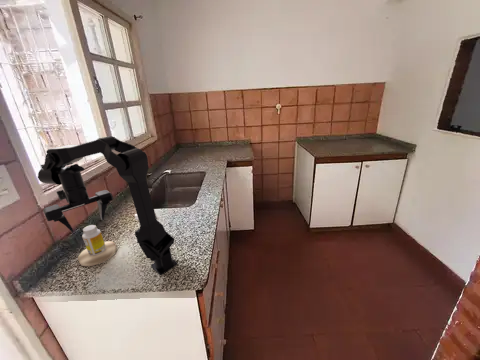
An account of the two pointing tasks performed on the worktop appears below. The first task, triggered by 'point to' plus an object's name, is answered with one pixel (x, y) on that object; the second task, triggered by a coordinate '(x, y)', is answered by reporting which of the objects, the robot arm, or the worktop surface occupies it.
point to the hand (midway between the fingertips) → (88, 225)
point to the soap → (137, 216)
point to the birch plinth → (97, 259)
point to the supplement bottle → (93, 240)
